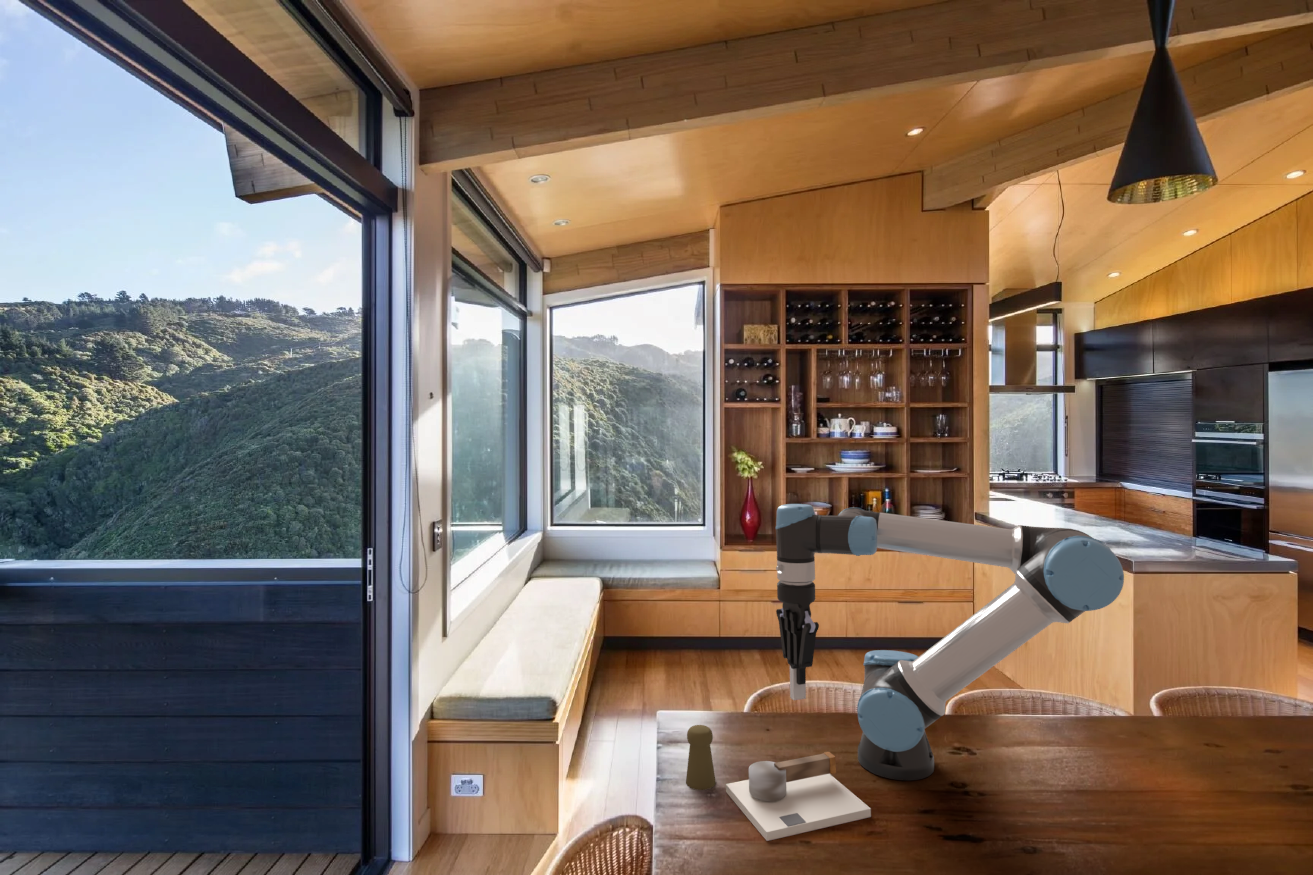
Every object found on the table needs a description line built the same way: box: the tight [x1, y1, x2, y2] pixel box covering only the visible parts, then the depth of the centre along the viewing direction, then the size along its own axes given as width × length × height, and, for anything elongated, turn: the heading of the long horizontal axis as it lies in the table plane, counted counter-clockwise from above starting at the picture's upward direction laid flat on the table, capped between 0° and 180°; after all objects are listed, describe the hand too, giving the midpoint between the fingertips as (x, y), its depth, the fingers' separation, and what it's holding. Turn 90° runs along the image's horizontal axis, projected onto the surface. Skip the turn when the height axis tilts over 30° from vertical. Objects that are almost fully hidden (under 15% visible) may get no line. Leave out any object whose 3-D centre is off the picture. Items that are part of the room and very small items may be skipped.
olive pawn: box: [685, 724, 717, 791], centre depth 134 cm, size 6×6×11 cm
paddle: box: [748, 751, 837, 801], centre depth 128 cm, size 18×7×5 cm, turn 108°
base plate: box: [725, 774, 872, 842], centre depth 125 cm, size 21×17×2 cm
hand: (798, 697), depth 134 cm, fingers closed
